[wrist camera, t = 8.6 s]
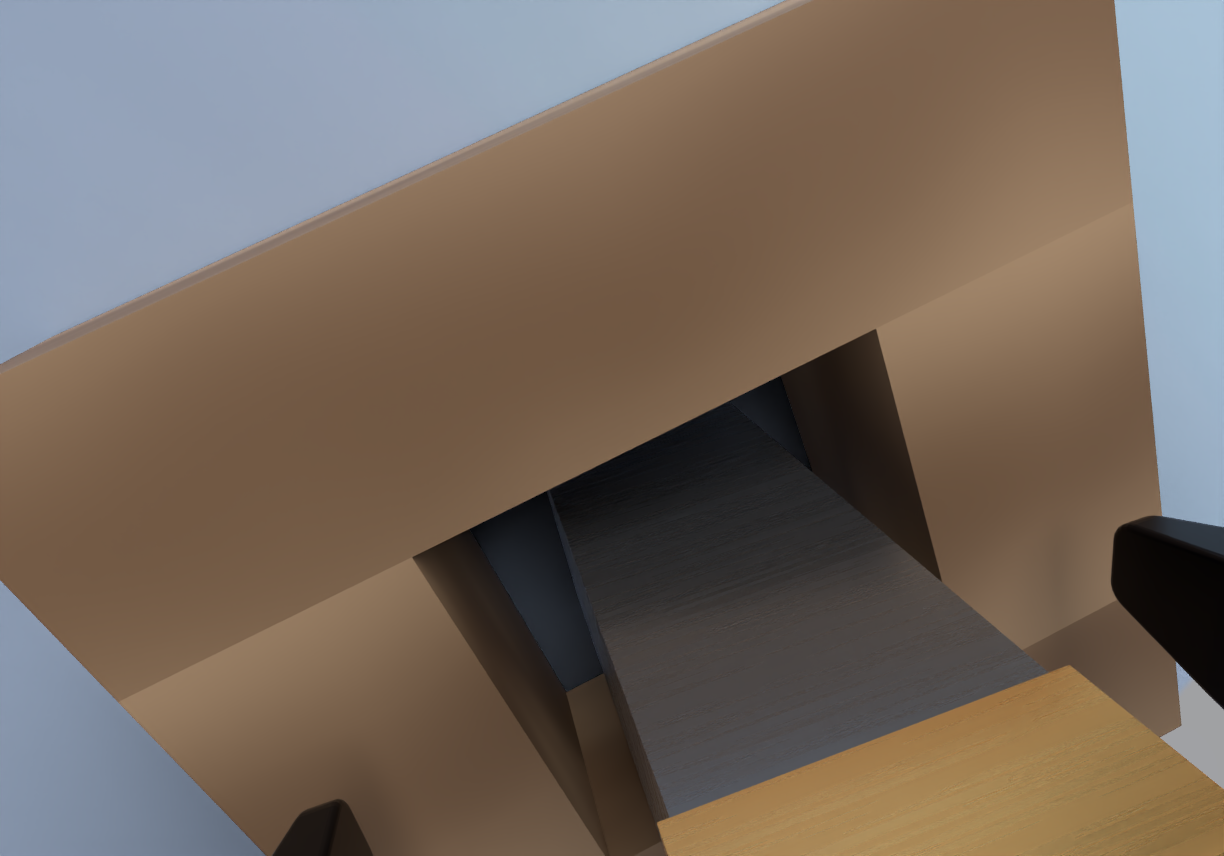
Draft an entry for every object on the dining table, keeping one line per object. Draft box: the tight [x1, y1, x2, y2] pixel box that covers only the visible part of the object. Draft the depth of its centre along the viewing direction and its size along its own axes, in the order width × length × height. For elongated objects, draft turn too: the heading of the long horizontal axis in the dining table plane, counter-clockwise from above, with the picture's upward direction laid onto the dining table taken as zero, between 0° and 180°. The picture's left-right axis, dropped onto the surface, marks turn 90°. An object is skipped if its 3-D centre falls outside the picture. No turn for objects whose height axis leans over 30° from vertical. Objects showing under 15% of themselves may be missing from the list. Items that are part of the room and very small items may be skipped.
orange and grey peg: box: [547, 401, 1224, 856], centre depth 8 cm, size 3×3×8 cm
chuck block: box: [0, 0, 1181, 856], centre depth 11 cm, size 12×12×4 cm
